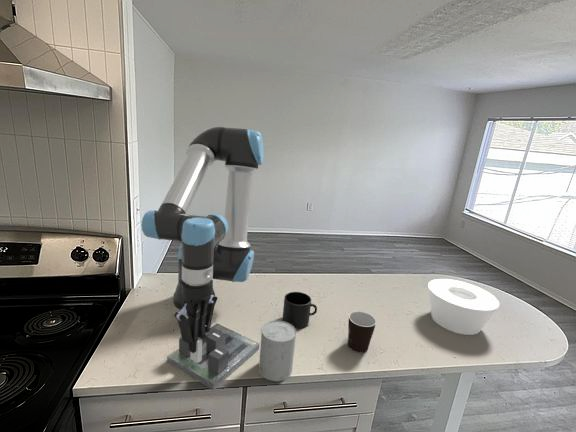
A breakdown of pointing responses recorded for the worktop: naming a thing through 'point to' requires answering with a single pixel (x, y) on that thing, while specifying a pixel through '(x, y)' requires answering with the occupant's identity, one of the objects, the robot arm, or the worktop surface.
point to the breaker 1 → (183, 347)
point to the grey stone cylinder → (277, 350)
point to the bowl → (460, 305)
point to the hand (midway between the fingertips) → (196, 359)
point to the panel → (234, 343)
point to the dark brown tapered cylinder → (360, 331)
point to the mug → (297, 309)
